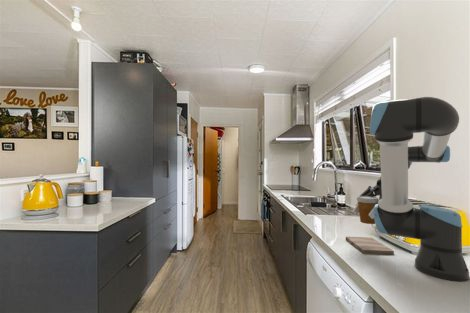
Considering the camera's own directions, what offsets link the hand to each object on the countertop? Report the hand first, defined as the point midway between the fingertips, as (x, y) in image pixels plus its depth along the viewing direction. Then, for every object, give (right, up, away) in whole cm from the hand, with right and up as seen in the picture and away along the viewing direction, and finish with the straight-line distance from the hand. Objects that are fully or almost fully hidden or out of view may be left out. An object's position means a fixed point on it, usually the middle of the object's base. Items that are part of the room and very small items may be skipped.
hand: (362, 214), depth 113 cm
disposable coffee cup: (+3, -4, +1) cm, 5 cm away
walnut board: (+3, -15, 0) cm, 15 cm away
